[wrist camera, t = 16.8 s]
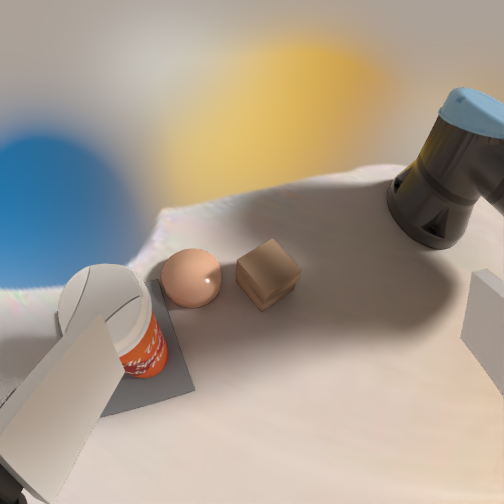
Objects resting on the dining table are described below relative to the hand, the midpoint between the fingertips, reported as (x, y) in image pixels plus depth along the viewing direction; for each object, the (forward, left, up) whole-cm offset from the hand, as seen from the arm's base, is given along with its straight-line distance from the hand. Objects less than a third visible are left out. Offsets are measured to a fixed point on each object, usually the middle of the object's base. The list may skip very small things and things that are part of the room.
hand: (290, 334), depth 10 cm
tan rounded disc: (+1, -16, -25) cm, 29 cm away
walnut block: (-7, -12, -25) cm, 29 cm away
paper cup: (+9, -9, -24) cm, 27 cm away
